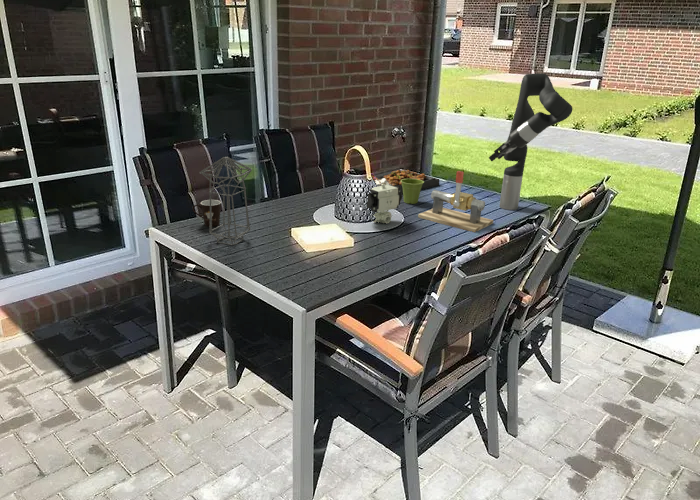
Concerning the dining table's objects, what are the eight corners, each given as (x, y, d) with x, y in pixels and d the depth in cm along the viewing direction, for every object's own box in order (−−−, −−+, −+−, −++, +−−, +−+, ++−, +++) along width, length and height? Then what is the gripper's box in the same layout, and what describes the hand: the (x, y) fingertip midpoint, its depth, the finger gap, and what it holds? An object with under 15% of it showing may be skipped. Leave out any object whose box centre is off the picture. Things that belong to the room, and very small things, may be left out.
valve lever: (454, 206, 252) (458, 170, 246) (460, 207, 250) (464, 171, 244) (452, 206, 250) (456, 171, 244) (458, 208, 249) (462, 172, 243)
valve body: (435, 209, 269) (437, 186, 264) (483, 222, 253) (486, 197, 249) (426, 213, 263) (428, 189, 259) (475, 226, 248) (478, 201, 243)
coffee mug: (226, 223, 245) (224, 201, 241) (213, 228, 237) (212, 206, 234) (205, 219, 249) (203, 197, 245) (192, 224, 242) (190, 202, 238)
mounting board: (437, 209, 275) (438, 206, 274) (493, 223, 257) (493, 220, 257) (418, 217, 262) (418, 214, 261) (474, 232, 244) (475, 229, 244)
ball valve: (372, 228, 245) (374, 189, 239) (361, 222, 251) (362, 185, 245) (402, 221, 255) (405, 184, 249) (390, 216, 262) (393, 180, 255)
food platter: (383, 198, 292) (384, 179, 288) (352, 188, 309) (353, 170, 306) (438, 186, 320) (440, 169, 316) (408, 177, 337) (409, 161, 333)
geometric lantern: (256, 238, 228) (254, 155, 214) (234, 251, 215) (230, 164, 201) (225, 231, 234) (220, 150, 220) (201, 244, 220) (195, 158, 207)
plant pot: (425, 201, 287) (427, 180, 283) (415, 206, 278) (417, 185, 274) (405, 197, 293) (407, 177, 289) (395, 202, 284) (396, 181, 280)
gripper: (526, 124, 227) (496, 149, 238) (511, 128, 216) (481, 153, 228) (537, 139, 226) (506, 163, 237) (522, 143, 215) (491, 168, 227)
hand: (494, 158), depth 232 cm, fingers open, 6 cm apart
